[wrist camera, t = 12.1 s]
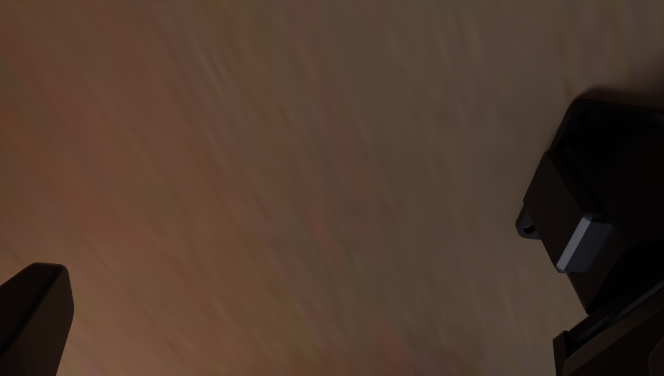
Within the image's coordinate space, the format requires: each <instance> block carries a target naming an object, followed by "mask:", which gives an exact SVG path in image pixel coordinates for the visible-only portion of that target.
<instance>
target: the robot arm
mask: <svg viewBox="0 0 664 376" xmlns="http://www.w3.org/2000/svg"><path fill="white" fill-rule="evenodd" d="M584 110H587V112H586V114H585V115H583V116H582V117H577V116H578V114H579V113H580V112H582V111H584ZM523 203H524V206H523V208H522V210H521V212H520V214H519V217H518V219H517V221H516V224H515V226H516V229H517V231H518V234H519V235H520V236H521V237H523V238H529V239H538V240H542V242H543V244H544V246H545V249H546V251H547V253H548V255H549V257H550V259H551V261H552V263H553V265H554V267H555V268H556V270H557V271H558V272H559V273H566V274H567V276H568V278H569V280H570V282H571V284H572V286H573V287H574V289H575V291H576V293H577V295H578V297H579V299H580V301H581V303H582V305H583V307H584V309H585V311H586V313H587V314H588V315H589V316H587V317H586V318H585V319H584V320H582V321H581V322H580V323H578V324H577V325H576V326H574V327H573V328H572V329H571V330H569V331H563V332H562V333H561V334H559V335H558V336H557V337H555V338H554V339H553V349H554V358H555V368H556V376H664V110H659V109H652V108H645V107H637V106H630V105H623V104H616V103H609V102H602V101H595V100H588V99H580V100H578V101H575V102H574V103H573V104H571V105H570V107H569V108H568V110H567V112H566V114H565V116H564V118H563V120H562V123H561V125H560V127H559V129H558V131H557V134H556V136H555V138H554V140H553V142H552V144H551V147H550V149H548V150H547V151H546V152H545V153H544V155H543V157H542V159H541V161H540V164H539V166H538V168H537V170H536V173H535V175H534V177H533V179H532V181H531V184H530V186H529V188H528V190H527V192H526V195H525V197H524V199H523ZM528 225H531V226H530V227H528V228H525V227H526V226H528ZM73 315H74V302H73V296H72V290H71V284H70V278H69V273H68V270H67V268H66V267H65V266H64V265H61V264H52V263H41V262H36V263H33V264H30V265H29V266H27V267H26V268H24V269H23V270H21V271H20V272H19V273H17V274H16V275H15V276H13V277H12V278H10V279H9V280H8V281H6V282H5V283H3V284H2V285H1V286H0V376H56V373H57V370H58V367H59V363H60V360H61V357H62V354H63V350H64V347H65V344H66V340H67V337H68V334H69V331H70V327H71V324H72V320H73Z"/></svg>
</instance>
